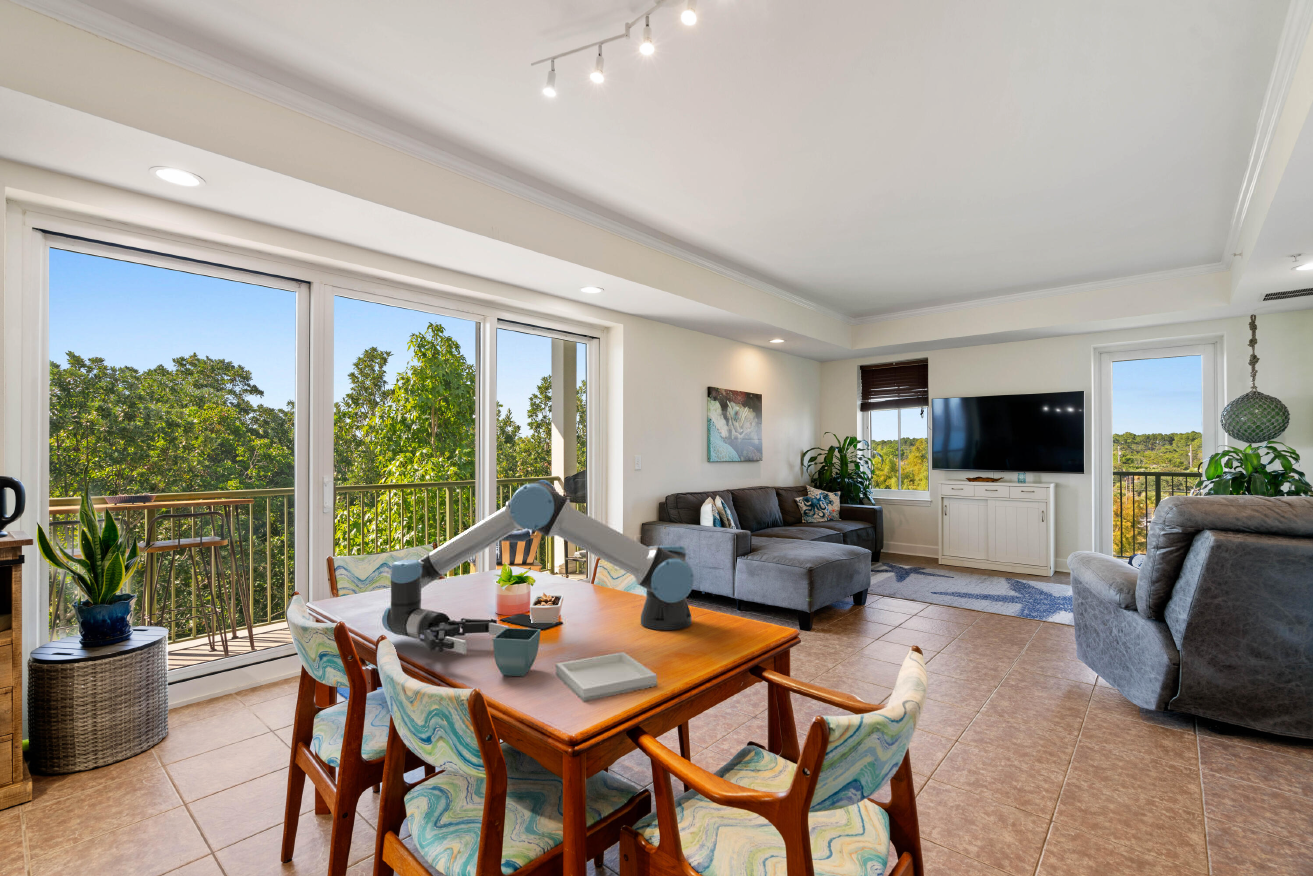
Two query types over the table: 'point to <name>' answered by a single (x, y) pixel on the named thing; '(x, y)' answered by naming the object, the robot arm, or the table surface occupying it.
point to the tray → (605, 676)
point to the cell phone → (528, 622)
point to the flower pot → (516, 650)
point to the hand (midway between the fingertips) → (487, 639)
